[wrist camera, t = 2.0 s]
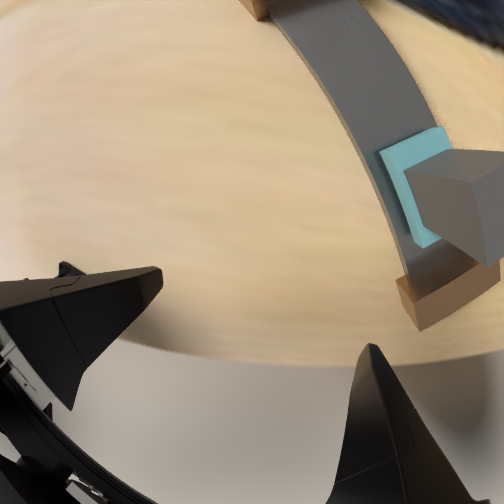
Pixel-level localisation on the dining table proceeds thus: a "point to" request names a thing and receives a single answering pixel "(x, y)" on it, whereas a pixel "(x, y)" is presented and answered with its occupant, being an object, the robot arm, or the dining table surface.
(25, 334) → the robot arm
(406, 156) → the grey teal block
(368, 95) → the rail
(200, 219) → the dining table surface
